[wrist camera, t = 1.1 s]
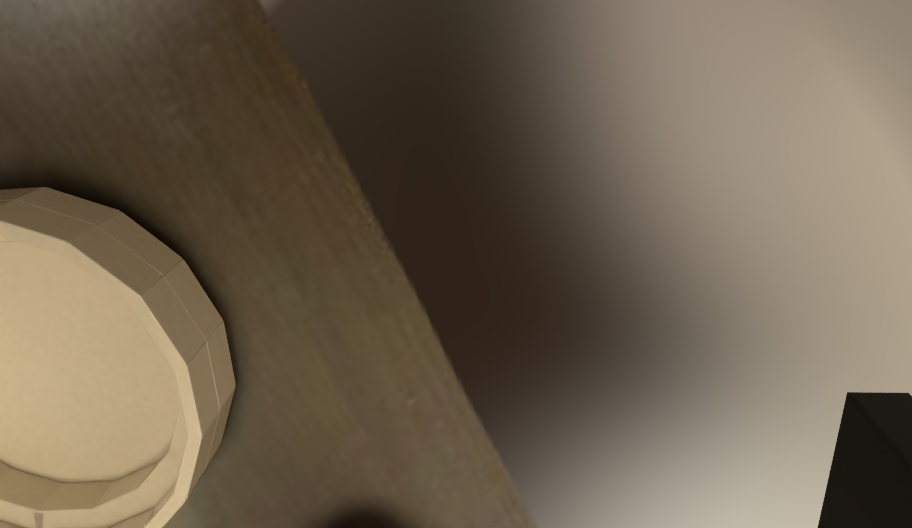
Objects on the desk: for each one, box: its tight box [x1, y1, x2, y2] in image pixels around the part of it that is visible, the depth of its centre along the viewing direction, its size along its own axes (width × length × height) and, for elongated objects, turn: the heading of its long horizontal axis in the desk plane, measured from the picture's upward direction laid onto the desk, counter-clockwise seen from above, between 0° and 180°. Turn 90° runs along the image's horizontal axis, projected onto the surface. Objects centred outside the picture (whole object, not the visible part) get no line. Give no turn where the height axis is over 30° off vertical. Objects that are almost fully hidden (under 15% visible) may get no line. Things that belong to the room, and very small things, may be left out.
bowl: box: [0, 187, 236, 528], centre depth 34 cm, size 16×16×5 cm
